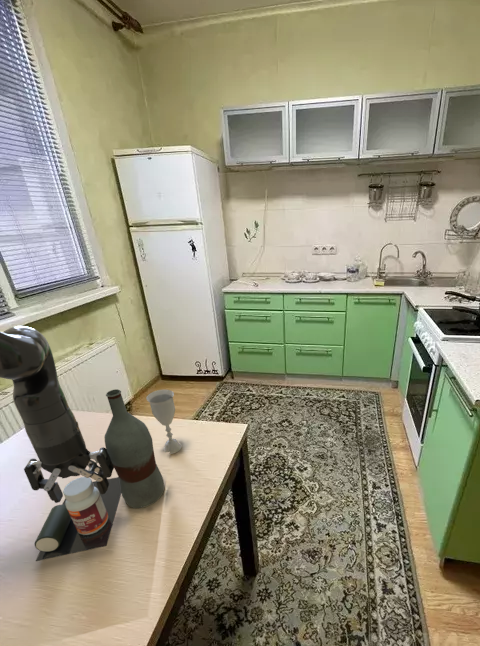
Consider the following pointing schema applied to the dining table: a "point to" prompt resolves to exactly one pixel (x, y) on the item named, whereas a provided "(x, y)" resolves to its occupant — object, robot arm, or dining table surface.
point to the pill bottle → (85, 506)
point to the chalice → (164, 415)
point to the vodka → (132, 455)
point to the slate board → (86, 542)
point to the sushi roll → (53, 529)
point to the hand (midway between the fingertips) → (82, 495)
